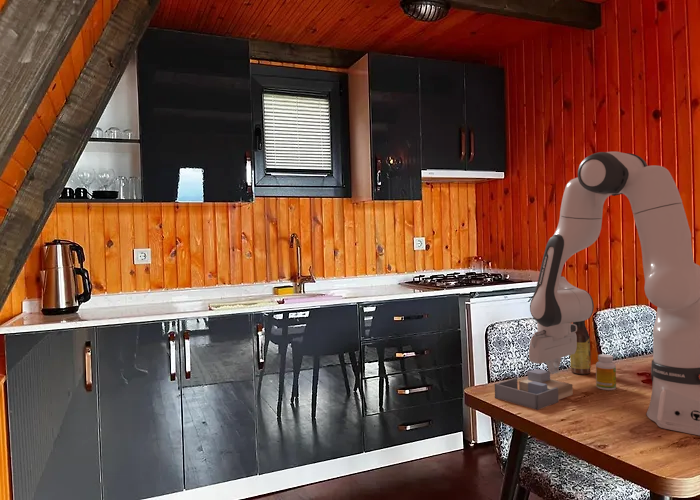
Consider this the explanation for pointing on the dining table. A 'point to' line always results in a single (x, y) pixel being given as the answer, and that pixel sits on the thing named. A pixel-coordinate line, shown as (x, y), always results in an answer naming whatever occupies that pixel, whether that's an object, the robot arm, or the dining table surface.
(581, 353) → the sauce bottle
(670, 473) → the dining table surface
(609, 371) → the supplement bottle
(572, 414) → the dining table surface
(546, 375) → the tile
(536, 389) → the tile
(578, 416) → the dining table surface
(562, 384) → the board
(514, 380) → the tray
